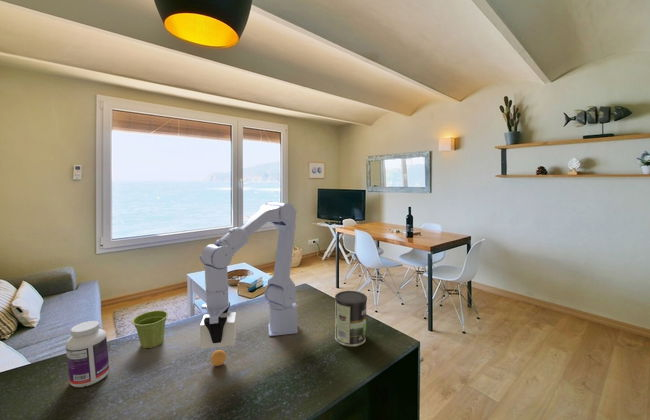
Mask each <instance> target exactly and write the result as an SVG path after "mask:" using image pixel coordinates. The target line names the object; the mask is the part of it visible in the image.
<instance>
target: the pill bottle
mask: <svg viewBox="0 0 650 420" xmlns="http://www.w3.org/2000/svg"><path fill="white" fill-rule="evenodd" d="M70 335H71V336H70V337H69V338H68V339H67V340H66V342H65V351H66V352H65V353H66V359H67V360H66V361H67V369H68V380H69V384H70V385H71V386H72V387H75V388H85V386H86V387H88V386H89V387H90V386H91V385H94V384H96V383H98V382H100V381H101V380H102V379H104V378H105V377H106V376H107V375H108V374H109V371H110V362H109V361H110V360H109V350H108V340H107V338H108V337H107V332H106V331H105V330H104V329H102V328H100V322H99V321H97V320H89V321H84V322H80V323H78V324H75V325H74V326H72V328H71V329H70Z"/></svg>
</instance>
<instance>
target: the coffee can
mask: <svg viewBox="0 0 650 420" xmlns="http://www.w3.org/2000/svg"><path fill="white" fill-rule="evenodd" d="M334 300H335V302H334V303H335V304H334V305H335V310H334V312H335V314H334V315H335V316H334V317H335V319H334V321H335V323H334V324H335V325H334V329H335V331H334V339H335V341H336V342H337V343H338V344H340V345H343V346H346V347H359V346H362V345H363V344H364V343H365V342H366V341H367V340H366V339H367V336H366V335H367V301H368V296H367V295H366V294H365V293H363V292H360V291H354V290H343V291H339V292H338V293H336V294H335V295H334Z"/></svg>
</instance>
